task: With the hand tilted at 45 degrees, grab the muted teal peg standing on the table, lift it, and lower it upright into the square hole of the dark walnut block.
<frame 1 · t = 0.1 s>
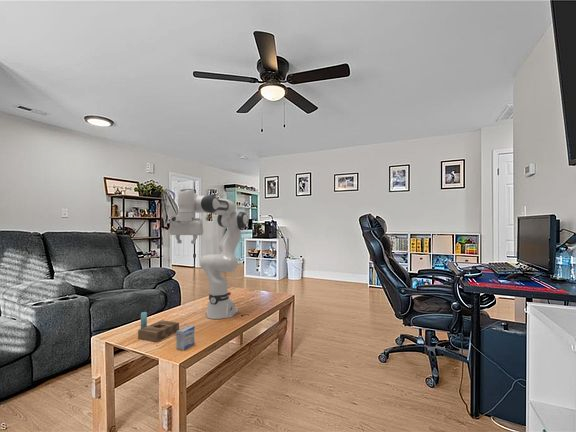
hand: (186, 243, 157), 48 cm above the table, tool pointing down, fingers open, 8 cm apart
medicine box: (185, 346, 138), on the table
peg: (143, 331, 158), on the table
hole block: (159, 334, 153), on the table
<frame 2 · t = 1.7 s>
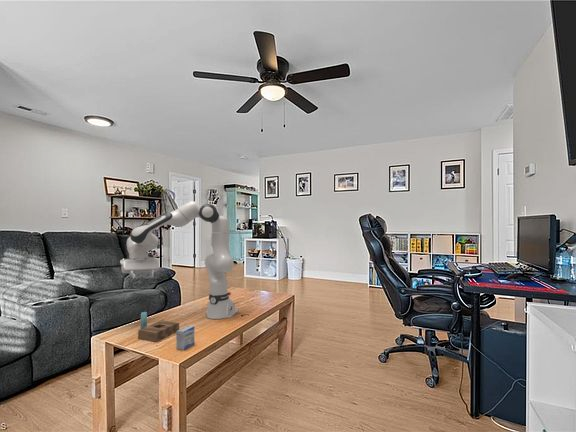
hand: (143, 277, 165), 28 cm above the table, tool tilted 45°, fingers open, 8 cm apart
nothing on the table moved.
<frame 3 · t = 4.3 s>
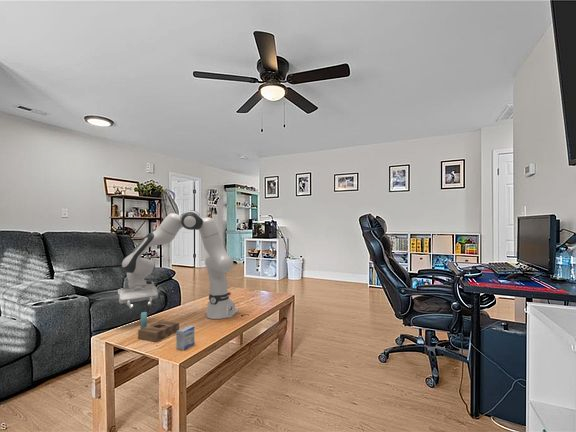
hand: (140, 306, 164), 12 cm above the table, tool tilted 45°, fingers open, 8 cm apart
nothing on the table moved.
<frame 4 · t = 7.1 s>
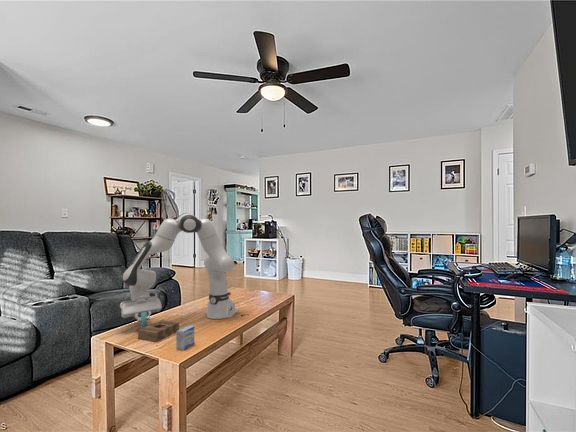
hand: (144, 320, 158), 6 cm above the table, tool tilted 45°, fingers closed on peg, 3 cm apart
peg: (143, 331, 158), on the table, touching gripper
everything else where it was.
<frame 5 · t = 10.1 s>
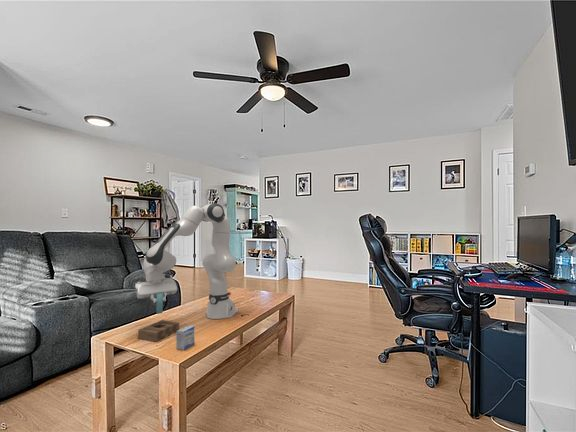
hand: (160, 301, 153), 17 cm above the table, tool tilted 45°, fingers closed on peg, 3 cm apart
peg: (159, 312, 153), point 12 cm above the table, touching gripper
everything else where it was.
when the fingers open (7 cm above the table, at t = 12.9 s): peg drops 1 cm, resting in hole block.
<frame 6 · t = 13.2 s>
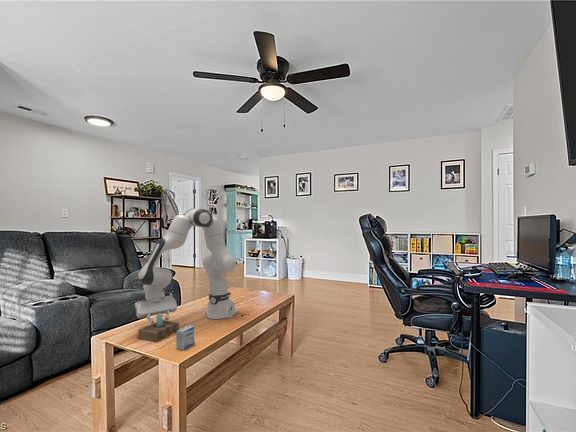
hand: (159, 321, 153), 7 cm above the table, tool tilted 45°, fingers open, 6 cm apart
peg: (159, 334, 153), resting in hole block
everything else where it was.
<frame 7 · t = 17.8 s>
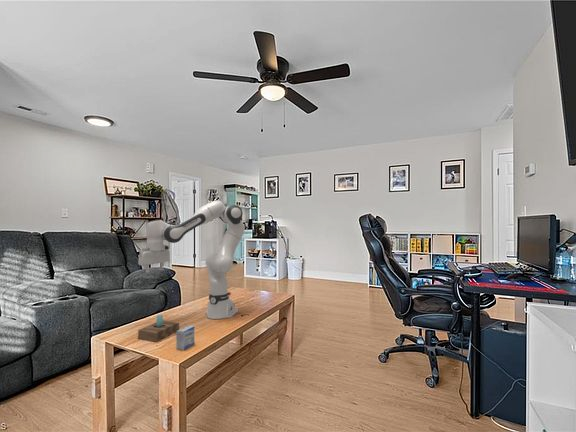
hand: (154, 271, 168), 31 cm above the table, tool pointing down, fingers open, 8 cm apart
nothing on the table moved.
at the end: peg 0.0 cm off-centre on the hole block, point 0.0 cm above the hole block's base; peg tilted 0°; the gripper is holding nothing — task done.
